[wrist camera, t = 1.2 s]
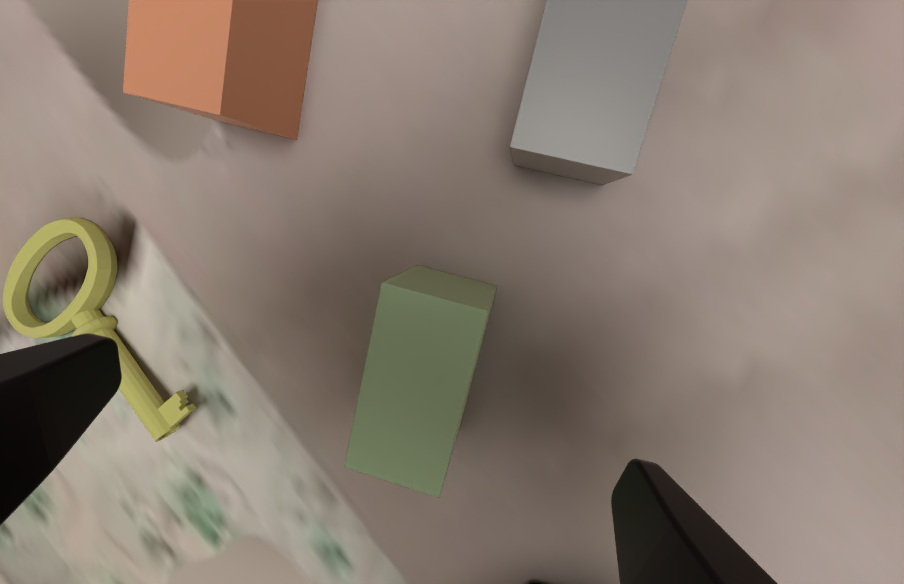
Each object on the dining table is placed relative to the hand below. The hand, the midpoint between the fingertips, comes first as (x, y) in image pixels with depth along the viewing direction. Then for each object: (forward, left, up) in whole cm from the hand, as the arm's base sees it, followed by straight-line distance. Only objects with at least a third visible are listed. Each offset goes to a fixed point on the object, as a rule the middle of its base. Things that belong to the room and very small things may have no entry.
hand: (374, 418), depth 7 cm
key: (-6, +17, -12) cm, 22 cm away
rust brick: (+8, +11, -12) cm, 18 cm away
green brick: (-3, +1, -12) cm, 12 cm away
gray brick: (+9, -2, -12) cm, 15 cm away
